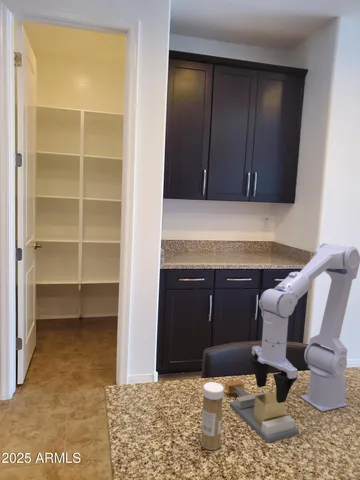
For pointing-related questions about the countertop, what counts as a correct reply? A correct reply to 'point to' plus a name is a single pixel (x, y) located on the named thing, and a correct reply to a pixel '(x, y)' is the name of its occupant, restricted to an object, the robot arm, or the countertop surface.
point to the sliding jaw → (241, 394)
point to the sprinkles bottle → (212, 415)
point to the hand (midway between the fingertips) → (270, 393)
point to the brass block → (267, 408)
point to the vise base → (257, 427)
